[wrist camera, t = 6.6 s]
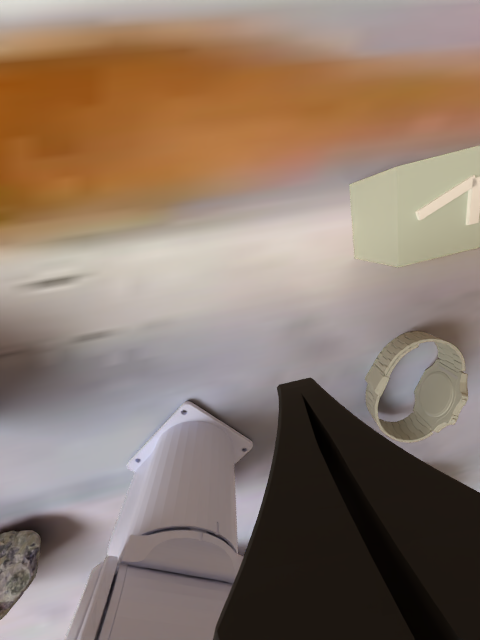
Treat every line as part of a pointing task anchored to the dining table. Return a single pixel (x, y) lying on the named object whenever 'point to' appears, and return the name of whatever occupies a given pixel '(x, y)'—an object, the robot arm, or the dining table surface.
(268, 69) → the dining table surface
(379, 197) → the block marked 7
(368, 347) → the dining table surface
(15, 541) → the mineral rock
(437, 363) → the wristwatch
